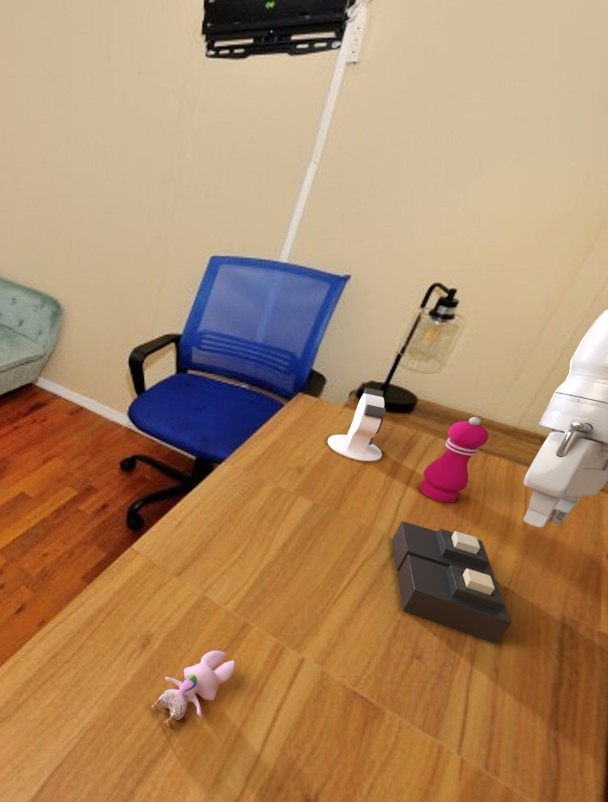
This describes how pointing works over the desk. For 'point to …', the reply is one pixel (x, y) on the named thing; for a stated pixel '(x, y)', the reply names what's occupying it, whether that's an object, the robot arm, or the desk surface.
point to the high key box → (451, 599)
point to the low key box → (436, 549)
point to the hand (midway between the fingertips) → (542, 523)
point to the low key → (465, 542)
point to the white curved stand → (362, 429)
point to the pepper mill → (454, 461)
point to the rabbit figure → (196, 684)
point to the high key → (478, 581)
